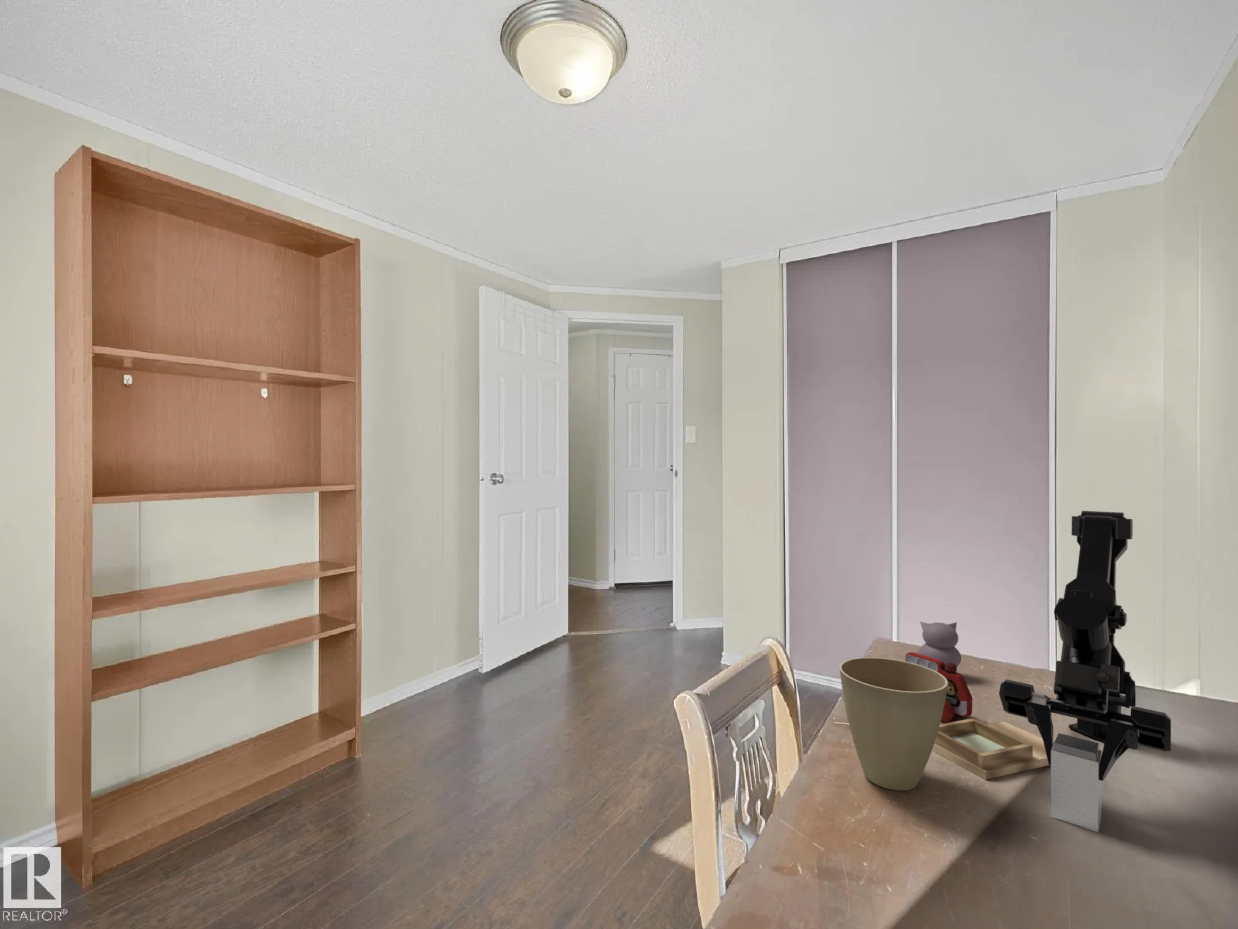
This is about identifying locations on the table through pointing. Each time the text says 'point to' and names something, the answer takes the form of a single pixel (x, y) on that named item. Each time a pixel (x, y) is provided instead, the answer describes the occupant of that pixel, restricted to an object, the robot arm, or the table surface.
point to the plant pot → (892, 717)
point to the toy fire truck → (957, 689)
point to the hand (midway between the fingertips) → (1075, 772)
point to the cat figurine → (940, 642)
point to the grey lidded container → (1076, 782)
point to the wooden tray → (990, 747)
